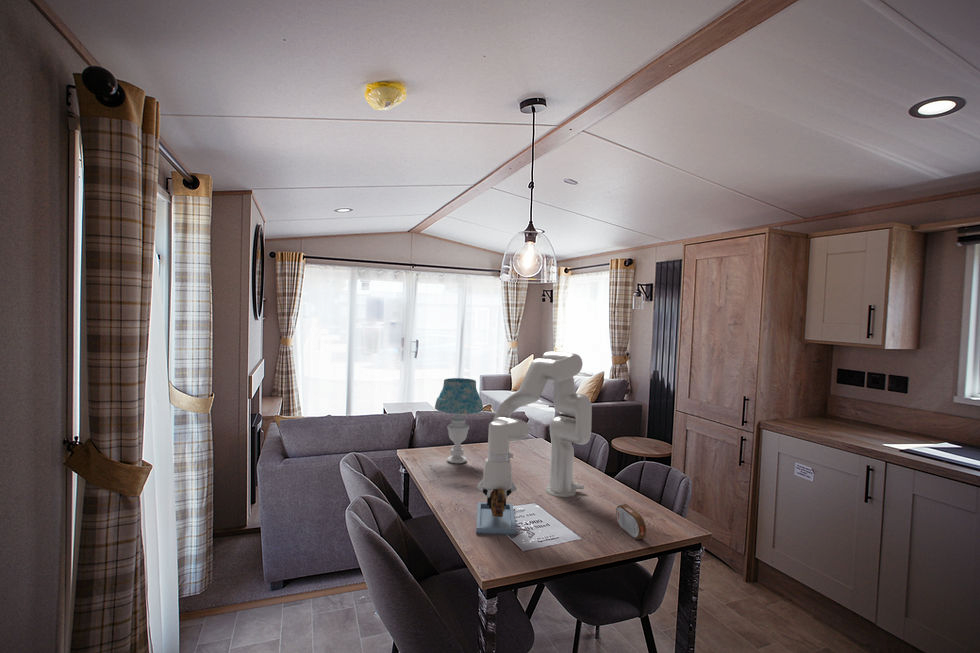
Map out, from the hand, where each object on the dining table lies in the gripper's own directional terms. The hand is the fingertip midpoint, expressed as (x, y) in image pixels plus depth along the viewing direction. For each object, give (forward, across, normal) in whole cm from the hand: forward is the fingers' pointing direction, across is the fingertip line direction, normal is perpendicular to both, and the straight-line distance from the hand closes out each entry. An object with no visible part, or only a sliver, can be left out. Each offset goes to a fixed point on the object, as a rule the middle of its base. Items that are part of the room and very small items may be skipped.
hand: (496, 507), depth 165 cm
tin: (+5, -46, +6) cm, 47 cm away
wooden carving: (+3, 0, 0) cm, 3 cm away
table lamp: (+5, +18, -66) cm, 68 cm away
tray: (+5, 0, 0) cm, 5 cm away
